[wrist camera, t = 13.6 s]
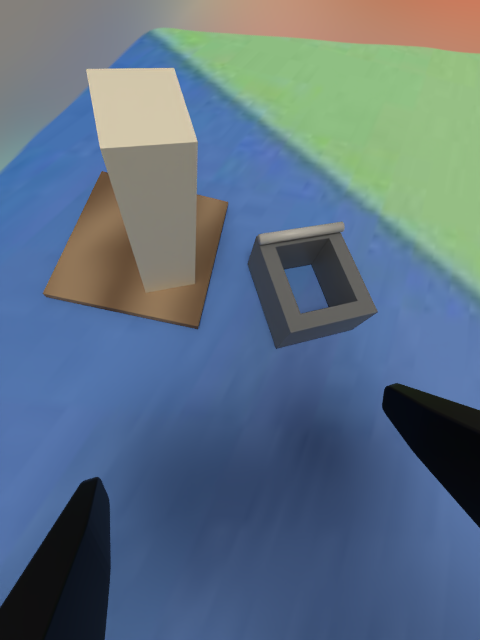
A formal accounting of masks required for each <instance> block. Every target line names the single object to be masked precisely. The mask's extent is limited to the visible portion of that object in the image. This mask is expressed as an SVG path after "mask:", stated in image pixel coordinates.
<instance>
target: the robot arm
mask: <svg viewBox="0 0 480 640" xmlns="http://www.w3.org/2000/svg"><path fill="white" fill-rule="evenodd" d="M382 408H383V410H384V412H385V414H386V415H387V417H388V418H389V419H390V421H391V422H392V424H393V425H394V426H395V428H396V429H397V430H398V432H399V433H400V434H401V436H402V437H403V439H404V440H405V441H406V443H407V444H408V445H409V447H410V448H411V449H412V451H413V452H414V453H415V454H416V456H417V457H418V458H419V459H420V460H421V461H422V463H423V464H424V465H425V466H426V467H427V468H428V469H429V471H430V472H431V473H432V474H433V475H434V476H435V477H436V479H437V480H438V481H439V482H440V483H441V484H442V485H443V487H444V488H445V489H446V490H447V491H448V492H449V493H450V495H451V496H452V497H453V498H454V499H455V500H456V501H457V503H458V504H459V505H460V506H461V507H462V508H463V509H464V511H465V512H466V513H467V514H468V515H469V516H470V517H471V519H472V520H473V521H474V522H475V523H476V524H477V525H478V527H479V528H480V410H477V409H474V408H471V407H468V406H465V405H462V404H459V403H456V402H453V401H450V400H447V399H444V398H441V397H438V396H435V395H432V394H429V393H426V392H423V391H420V390H417V389H414V388H411V387H408V386H405V385H402V384H398V383H395V384H392V385H389V386H386V387H385V389H384V395H383V402H382ZM110 569H111V556H110V504H109V498H108V495H107V492H106V490H105V488H104V485H103V483H102V481H101V479H100V478H99V477H94V478H91V479H88V480H85V481H83V482H82V483H81V484H80V485H79V487H78V488H77V490H76V491H75V493H74V494H73V496H72V497H71V499H70V501H69V502H68V504H67V505H66V507H65V508H64V510H63V511H62V513H61V514H60V516H59V518H58V519H57V521H56V522H55V524H54V525H53V527H52V528H51V530H50V531H49V533H48V535H47V536H46V538H45V539H44V541H43V542H42V544H41V545H40V547H39V548H38V550H37V552H36V553H35V555H34V556H33V558H32V559H31V561H30V562H29V564H28V565H27V567H26V569H25V570H24V572H23V573H22V575H21V576H20V578H19V579H18V581H17V582H16V584H15V586H14V587H13V589H12V590H11V592H10V593H9V595H8V596H7V598H6V599H5V601H4V603H3V604H2V606H1V607H0V640H105V630H106V618H107V607H108V596H109V584H110Z"/></svg>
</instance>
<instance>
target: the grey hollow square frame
mask: <svg viewBox="0 0 480 640" xmlns="http://www.w3.org/2000/svg"><path fill="white" fill-rule="evenodd" d="M343 231H344V223H343V222H337V223H330V224H324V225H317V226H311V227H304V228H297V229H291V230H284V231H278V232H271V233H264V234H259V235H258V236H256V239H255V242H254V245H253V248H252V252H251V255H250V258H249V261H248V267H249V270H250V272H251V275H252V278H253V281H254V284H255V287H256V290H257V293H258V296H259V299H260V302H261V305H262V308H263V311H264V314H265V317H266V320H267V323H268V326H269V329H270V332H271V335H272V338H273V341H274V344H275V347H276V349H277V348H281V347H285V346H289V345H293V344H297V343H301V342H305V341H309V340H313V339H317V338H321V337H325V336H329V335H333V334H337V333H341V332H345V331H349V330H352V329H354V328H355V327H357V326H358V325H360V324H361V323H362V322H364V321H365V320H367V319H368V318H370V317H371V316H373V315H374V314H376V313H377V312H378V311H377V309H376V307H375V305H374V303H373V301H372V299H371V296H370V294H369V292H368V290H367V288H366V286H365V284H364V282H363V279H362V277H361V275H360V273H359V271H358V269H357V267H356V265H355V262H354V260H353V258H352V256H351V254H350V252H349V250H348V247H347V245H346V243H345V241H344V239H343V237H342V235H341V233H340V232H343ZM310 264H312V267H313V269H314V272H315V274H316V276H317V279H318V281H319V284H320V286H321V288H322V291H323V293H324V296H325V298H326V301H327V303H328V305H329V308H324V309H320V310H315V311H311V312H307V313H302V314H300V311H299V308H298V306H297V303H296V301H295V298H294V295H293V293H292V290H291V287H290V285H289V282H288V279H287V277H286V274H285V271H284V269H288V268H294V267H299V266H305V265H310Z"/></svg>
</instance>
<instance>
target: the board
mask: <svg viewBox="0 0 480 640" xmlns="http://www.w3.org/2000/svg"><path fill="white" fill-rule="evenodd" d="M227 207H228V202H225V201H221V200H217V199H213V198H209V197H205V196H201V195H197V200H196V254H195V284H192V285H186V286H180V287H175V288H169V289H164V290H158V291H153V292H147V293H146V292H145V289H144V285H143V282H142V279H141V276H140V273H139V270H138V266H137V263H136V260H135V257H134V254H133V251H132V247H131V244H130V241H129V238H128V235H127V232H126V228H125V225H124V222H123V219H122V216H121V213H120V209H119V206H118V203H117V200H116V197H115V194H114V190H113V187H112V184H111V181H110V178H109V175H108V173H107V172H103V171H102V172H101V174H100V176H99V178H98V180H97V182H96V184H95V186H94V188H93V190H92V193H91V195H90V197H89V199H88V201H87V203H86V205H85V207H84V209H83V211H82V213H81V215H80V217H79V219H78V222H77V224H76V226H75V228H74V230H73V232H72V234H71V236H70V238H69V240H68V242H67V244H66V246H65V248H64V251H63V253H62V255H61V257H60V259H59V261H58V263H57V265H56V267H55V269H54V271H53V273H52V275H51V277H50V280H49V282H48V284H47V286H46V288H45V290H44V292H43V294H44V295H45V296H46V297H49V298H53V299H58V300H63V301H68V302H72V303H77V304H82V305H86V306H91V307H96V308H101V309H105V310H110V311H115V312H120V313H124V314H129V315H134V316H138V317H143V318H148V319H153V320H157V321H162V322H167V323H172V324H176V325H181V326H186V327H190V328H195V329H198V327H199V323H200V319H201V315H202V310H203V306H204V302H205V298H206V294H207V290H208V286H209V281H210V277H211V273H212V269H213V265H214V261H215V257H216V252H217V248H218V244H219V240H220V236H221V232H222V227H223V223H224V219H225V215H226V211H227Z"/></svg>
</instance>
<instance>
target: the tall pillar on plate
mask: <svg viewBox="0 0 480 640" xmlns="http://www.w3.org/2000/svg"><path fill="white" fill-rule="evenodd" d="M86 71H87V76H88V82H89V88H90V93H91V99H92V105H93V110H94V116H95V122H96V127H97V133H98V139H99V144H100V149H101V153H102V156H103V159H104V162H105V165H106V168H107V171H108V175H109V178H110V181H111V184H112V187H113V190H114V194H115V197H116V200H117V203H118V206H119V209H120V213H121V216H122V219H123V222H124V225H125V228H126V232H127V235H128V238H129V241H130V244H131V247H132V251H133V254H134V257H135V260H136V263H137V266H138V270H139V273H140V276H141V279H142V282H143V285H144V289H145V292H146V293H147V292H153V291H158V290H164V289H169V288H175V287H180V286H186V285H192V284H195V254H196V200H197V146H198V142H197V139H196V135H195V132H194V129H193V126H192V123H191V120H190V117H189V114H188V110H187V107H186V104H185V101H184V98H183V95H182V92H181V89H180V86H179V82H178V79H177V76H176V73H175V70H174V68H135V69H86Z"/></svg>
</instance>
